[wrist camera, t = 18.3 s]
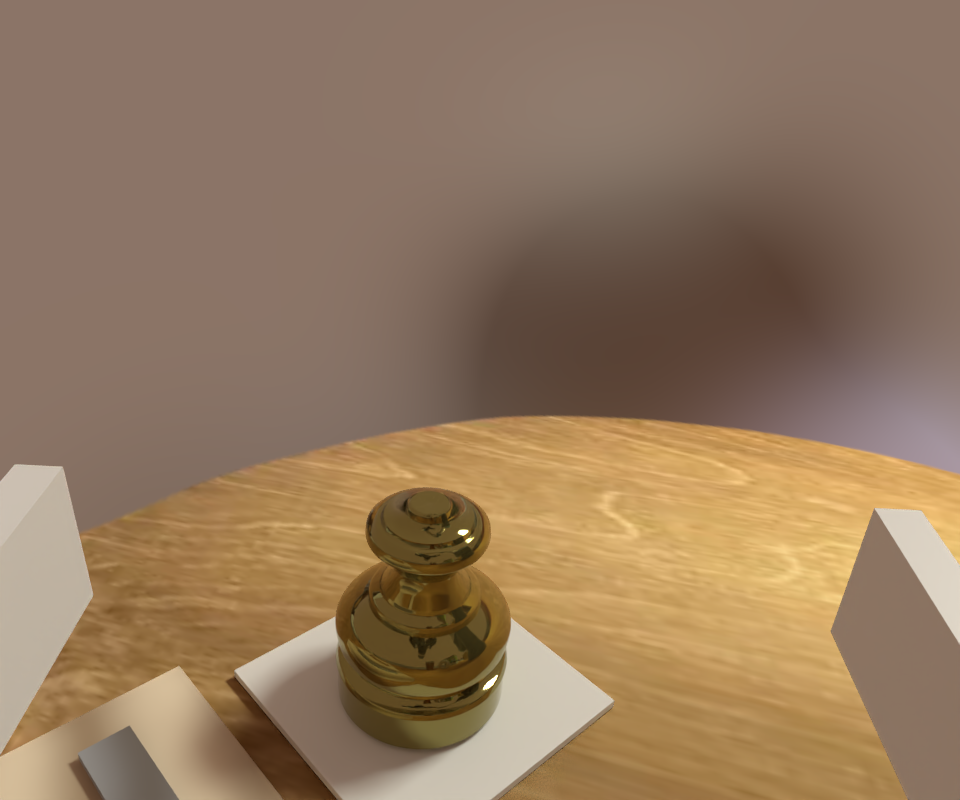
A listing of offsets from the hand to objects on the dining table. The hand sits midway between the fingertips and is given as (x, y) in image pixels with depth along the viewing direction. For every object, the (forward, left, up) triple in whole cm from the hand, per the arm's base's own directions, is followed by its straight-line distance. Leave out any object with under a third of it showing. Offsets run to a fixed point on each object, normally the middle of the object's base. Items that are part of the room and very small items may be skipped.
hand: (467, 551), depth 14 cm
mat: (-10, -12, -21) cm, 26 cm away
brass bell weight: (-10, -12, -21) cm, 26 cm away
